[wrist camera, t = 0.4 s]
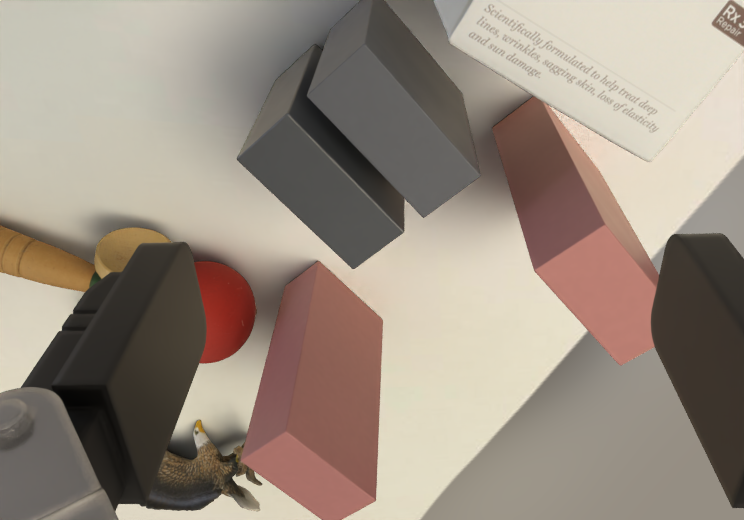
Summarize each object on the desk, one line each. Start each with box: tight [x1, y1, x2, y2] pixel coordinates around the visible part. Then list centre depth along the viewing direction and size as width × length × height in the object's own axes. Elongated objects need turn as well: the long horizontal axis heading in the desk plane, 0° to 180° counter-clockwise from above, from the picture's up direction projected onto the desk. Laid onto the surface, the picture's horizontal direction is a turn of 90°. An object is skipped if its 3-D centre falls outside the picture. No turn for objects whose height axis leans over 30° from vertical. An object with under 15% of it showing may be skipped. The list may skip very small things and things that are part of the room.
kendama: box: [0, 225, 257, 363], centre depth 40 cm, size 8×6×18 cm
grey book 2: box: [307, 0, 481, 218], centre depth 31 cm, size 7×3×10 cm, turn 42°
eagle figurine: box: [140, 420, 262, 511], centre depth 48 cm, size 8×7×9 cm
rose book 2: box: [492, 96, 659, 365], centre depth 31 cm, size 6×3×14 cm, turn 42°
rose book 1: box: [241, 261, 383, 520], centre depth 38 cm, size 6×3×14 cm, turn 42°
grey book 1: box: [237, 44, 404, 269], centre depth 32 cm, size 7×3×10 cm, turn 42°
